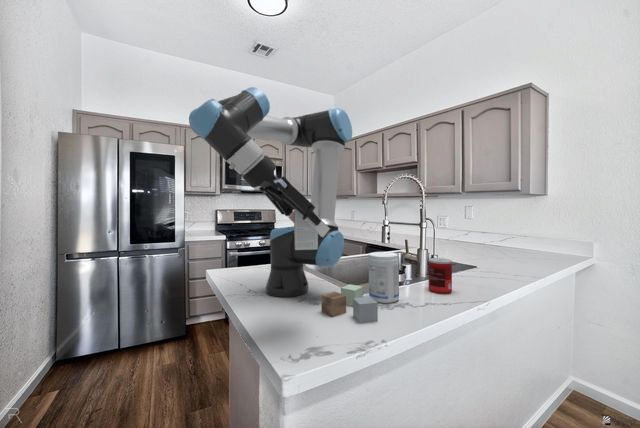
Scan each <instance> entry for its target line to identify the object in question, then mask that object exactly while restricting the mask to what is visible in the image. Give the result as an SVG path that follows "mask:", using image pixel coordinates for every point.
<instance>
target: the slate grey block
mask: <svg viewBox="0 0 640 428" xmlns="http://www.w3.org/2000/svg"><path fill="white" fill-rule="evenodd" d="M378 304H379V302H376V301H375V300H374V299H372V298H371V297H369V296H363V297H362V298H353V306H352V316H353V317H354V319H355V320H356V321H357V322H358V323H359V324H364V323H365V324H366V323H367V324H368V323H377V322H378V319H379V317H378V312H379V310H378V308H379V307H378V306H379V305H378Z"/></svg>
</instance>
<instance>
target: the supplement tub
mask: <svg viewBox="0 0 640 428" xmlns="http://www.w3.org/2000/svg"><path fill="white" fill-rule="evenodd" d="M367 261H368V295H369V296H368V297H371V298H372V299H374V300H375V301H376V302H377V303H382V304H391V303H394V302H397V301H398V300H399V298H400V279H399V278H400V275H399V274H400V273H399V272H400V271H399V255H398V253H397V252H391V251H374V252H373V251H372V252H370V253H368V260H367Z"/></svg>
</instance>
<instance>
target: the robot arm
mask: <svg viewBox="0 0 640 428" xmlns="http://www.w3.org/2000/svg"><path fill="white" fill-rule="evenodd" d="M270 105H271V104H270V101H269V99H268V96H267V95H266V94H265V92H264V91H262V90H261V89H260V88H258V87H254V86H252V87H251V86H250V87H248V88H246V89H243V90H241V91H240V93H238V94H236V95H233V96H231V97H227V98H223V99H221V100H217V99H214V98H211V99H208V100H207V101H205V102H204V103H202V104H201V105H200V106H198V107H197V108H194V109H192V111H191V112H190V113H189V116H188V122H189V123H188V124H189V127H190V129H191V130H192V131H193V133H194V134H195V135H197V136H199V137H201V138H202V139H203V140H204V141H205V142H207V144H208V145H209V146H210V147H211V148H212V149H213V150H214V151H216V152H217V154H218V155H219V156H220V157H221V158H222V159H224V161H226V162H227V164H229V165H228V167H229V169H230V170H234V171H236V173H238V174H239V175H242V179H243V180H244V181H245V182H246V184H248V185H249V186H250V187H251V188H252V189H256V188H257V187H258V189H259V191H260V192H262V193H263V194H264V196H266V197H267V199H268V200H269V201H270V202H271V203H272V205H273V206H274V207H275V208H276V209H277V210H278V211H279V213H280V215H283V216H284V215H285V217H288V219H289V220H290V221H291V222H292V223H293V224H294V209H296V210H297V211H298V212H299V213H301V214H302V215H303V216H304V217H303V218H302V219H303V220H306V221H307V222H308V223H309V224H310V225H311V226H312V227H313V228H314V230H315V231H316V232H317V233H318V249H314V250H295V234H294V225H293V226H286V227H279V228H273V229H272V230H271V231H270V236H269V237H270V238H269V248H270V249H269V250H270V253H269V257H270V273H269V274H268V279H267V282H266V285H265V286H266V287H265V291H266V292H267V293H266V294H267V295H269V296H272V297H278V298H292V297H298V296H301V295H305V294H306V293H308V292H309V282H308V279H307V276H306V272H305V269H304V265H310V266H317V267H333V266H335V265H336V264H337V263H338V262H339V260H341V258H342V256H343V252H344V249H345V239H344V235H343V233H342V232H341V231H339V226H338V224H337V223H336V221H335V218H336V205H337V194H338V193H337V192H338V182H339V181H338V179H339V167H340V155H341V154H342V153H343V152H344V151H345V147H346V144H347V143H349V142H350V141H351V140H352V138H353V127H352V122H351V119H350V117H349V115H348V114H347V112H346V111H345V110H344V109H343V108H339V107H337V108H330V109H329V108H328V109H327V110H322V111H318V112H313V113H310V114H304V115H301V116H295V117H291V116H284V117H282V118H280V117H276V116H275V117H274V116H271V115H270V116H269V115H268V114H269V112H270V109H271V106H270ZM255 140H264V141H272V142H273V141H275V142H280V144H282V145H284V146H285V145H286V146H293V147H299V148H311V149H312V150H313V151H314V161H313V172H312V173H313V175H312V185H311V196H310V200H308V198H306V197H305V196H304V195H303V194H302V193H301V192H300V191H299V190H298V189H296V188H295V186H293V184H291V183H290V182H289V180H288V179H287V178H286V177H285V176H281V178H280V177H279V176H276V175H275V174H274V172H275V171H276V169H277V166H276V164H275V163H274V162H273V160H272V159H271V158H270V157H269V156H268V155H264V150H263V149H262V148H261V147H260V146H259V145H258V144H257V143H256V141H255ZM259 186H260V187H259ZM315 206H318V215H317V214H316V213H315V212H314V211H313V210H314V208H315Z"/></svg>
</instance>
